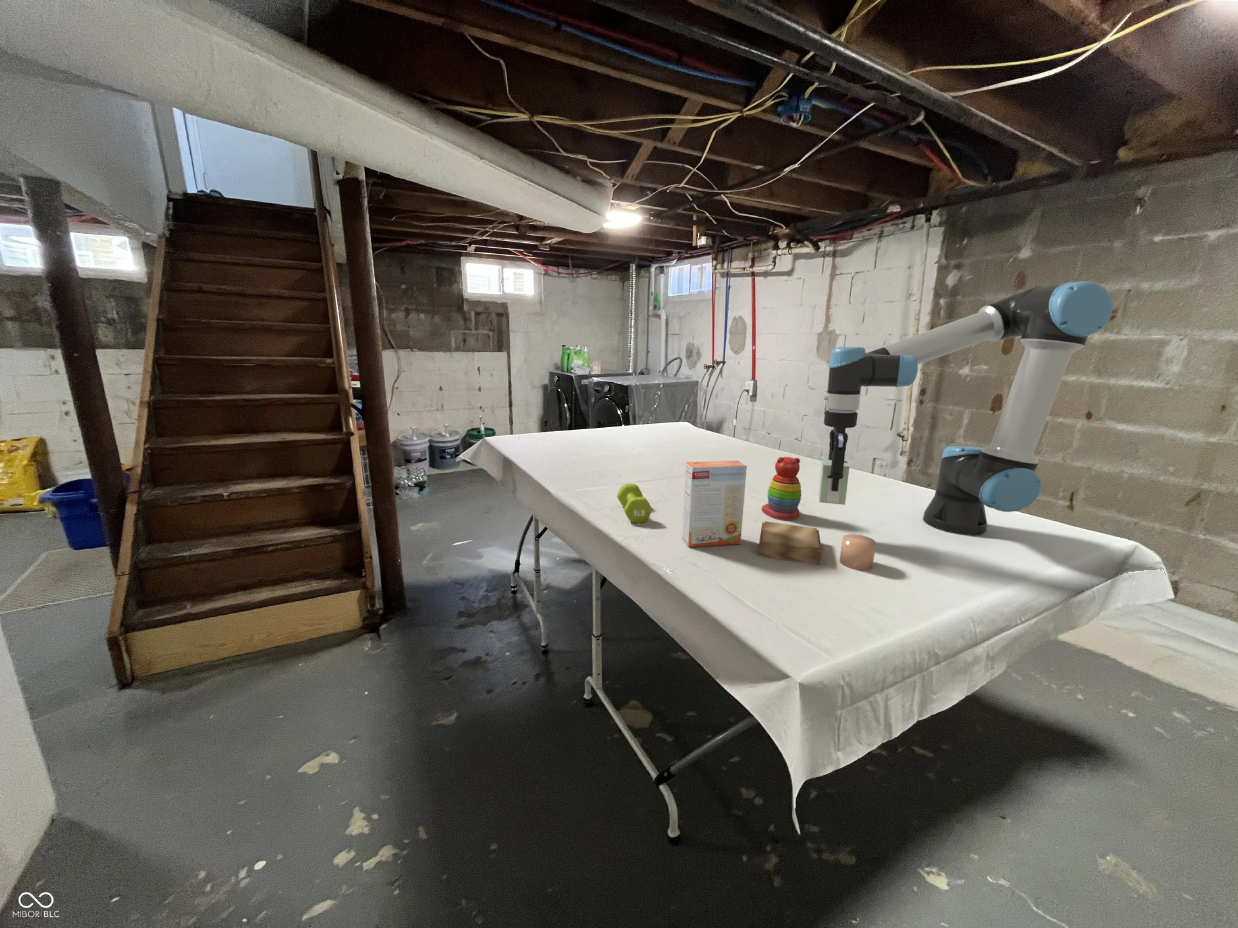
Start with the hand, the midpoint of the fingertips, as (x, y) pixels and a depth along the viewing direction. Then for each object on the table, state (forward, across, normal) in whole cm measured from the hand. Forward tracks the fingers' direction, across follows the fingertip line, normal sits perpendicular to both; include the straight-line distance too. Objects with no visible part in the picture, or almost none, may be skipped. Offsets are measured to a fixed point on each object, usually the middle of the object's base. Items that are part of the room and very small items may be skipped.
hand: (831, 498), depth 127 cm
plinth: (+10, +12, -10) cm, 19 cm away
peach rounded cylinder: (+11, +15, +5) cm, 19 cm away
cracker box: (+10, +15, -29) cm, 34 cm away
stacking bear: (+11, -13, -12) cm, 20 cm away
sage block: (0, 0, 0) cm, 0 cm away
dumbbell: (+10, +3, -53) cm, 54 cm away
